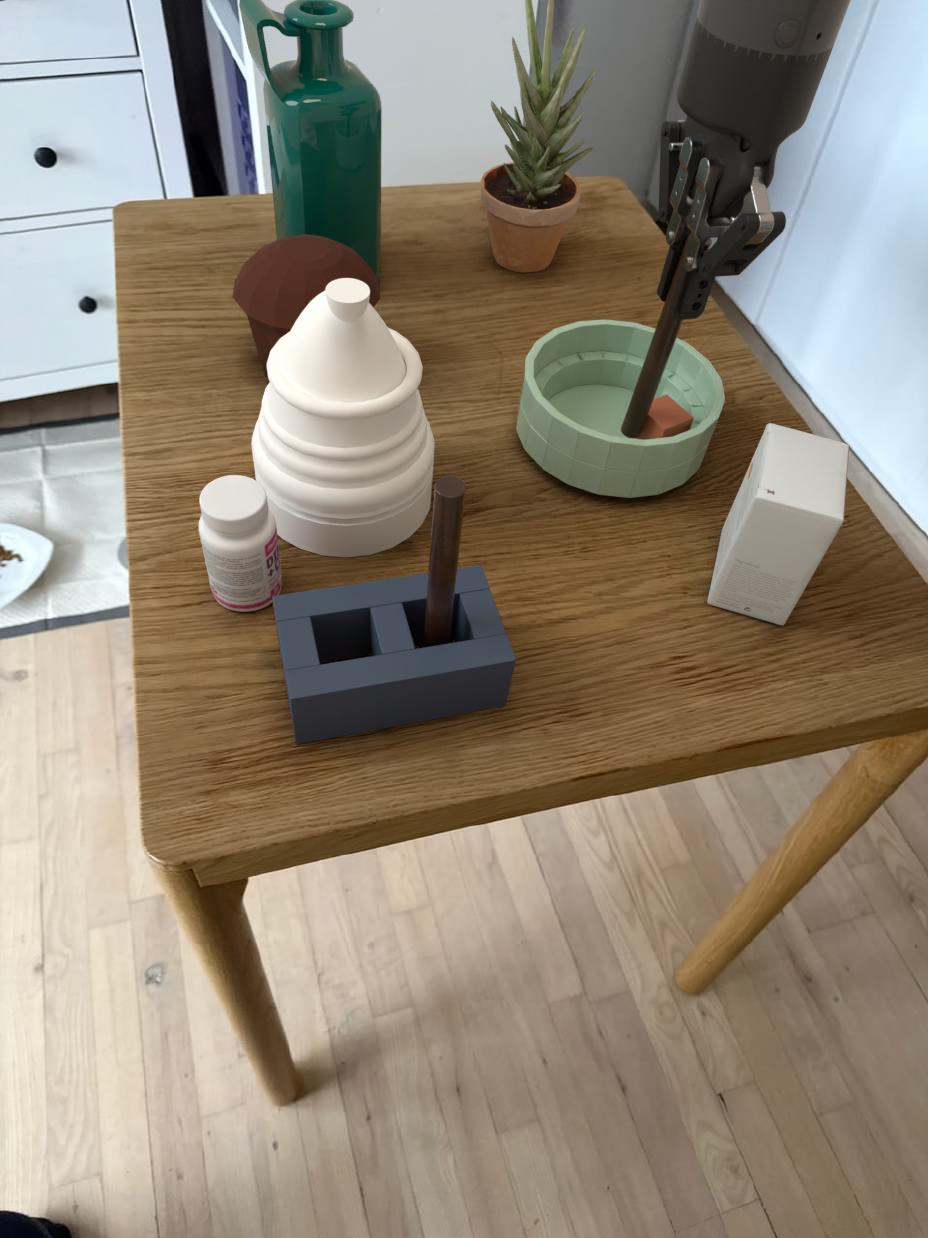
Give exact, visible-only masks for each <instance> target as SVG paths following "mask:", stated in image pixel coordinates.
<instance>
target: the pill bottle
mask: <svg viewBox="0 0 928 1238" xmlns="http://www.w3.org/2000/svg"><path fill="white" fill-rule="evenodd" d="M198 501H199V502H198V503H199V509H200V512H201V515H200V517H199V521H198V535H199V539H200V543H201V548H202V552H203V557H204V562H205V566H206V571H207V575H208V580H209V588H210V591H211V593H212V594H211V595H212V596H213V598H214V599H215V601H216V602H217V603H218V604H220V605H221V606H222V607H224V608H226V609H228V610H230V611H234V612H240V613H241V612H244V613H245V612H255V611H259V610H262V609H264V608H266V607H268V606H269V605H271V604H273V598H272V597H273V596H275V595H280V593H281V590H282V587H283V574H282V565H281V556H280V548H279V539H278V534H277V528H276V521H275V518H274V515H273V513H272V511H271V510H270V509H269V508H268V502H267V496H266V492H265V489H264V488H263V486H262V485H261V484H260V483H259V482H257V481H256V479H254V478H252V477H249V476H246V475H243V474H242V475H241V474H229V475H224V476H220V477H217V478H215V479H213V480H211V481H210V482H208V483H207V484H206V485H205V486H204V487H203V488H202V491H201V492H200V493H199V498H198Z"/></svg>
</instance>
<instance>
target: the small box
mask: <svg viewBox="0 0 928 1238" xmlns="http://www.w3.org/2000/svg"><path fill="white" fill-rule="evenodd" d="M850 447H851V446H850V444H849V443H845V442H842V441H839V440H835V439H831V438H828V437H824V436H820V435H817V434H814V433H809V432H805V431H801V430H798V429H795V428H791V427H788V426H783V425H779V424H776V423H773V422H772V423H771V422H769V423H767V424H766V425H765V428H764V431H763V432H762V435H761V437H760V439H759V442H758V444H757V447H756V450H755V451H754V453H753V456H752V459H751V461H750V463H749V465H748V468H747V470H746V472H745V475H744V478H743V480H742V481H741V485H740V486H739V489H738V491H737V494H736V496H735V498H734V500H733V503H732V505H731V507H730V510H729V512H728V515H727V516H726V520H725V521H724V524H723V526H722V529H721V533H720V538H719V542H718V547H717V551H716V552H717V553H716V557H715V562H714V567H713V572H712V578H711V583H710V587H709V592H708V595H707V597H708V598H707V600H706V601H707V602H706V603H707V605H709V606H713V607H717V608H720V609H724V610H727V611H731V612H734V613H737V614H741V615H744V616H748V617H751V618H755V619H758V620H762V621H765V622H768V623H772V624H775V625H778V626H785V624H786V623H787V621H788V619H789V617H790V616H791V614H792V612H793V611H794V609H795V607H796V605H797V604H798V602H799V600H800V599H801V597H802V595H803V594H804V591H805V590H806V588H807V586H808V584H809V583H810V581H811V579H812V578H813V576H814V574H815V573H816V571H817V570H818V569H817V568H818V567H819V565H820V564H821V562H822V560H823V558H824V557H825V555H826V553H827V551H828V549H829V547H830V546H831V544H832V542H833V540H834V539H835V537H836V536H837V534H838V532H839V530H840V529H841V527H842V525H843V523H844V522H845V513H846V512H845V511H846V499H847V498H846V497H847V483H848V481H847V480H848V471H849V459H850V458H849V457H850Z"/></svg>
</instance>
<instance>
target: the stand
mask: <svg viewBox="0 0 928 1238" xmlns="http://www.w3.org/2000/svg"><path fill="white" fill-rule="evenodd" d="M427 584H428V572H425V573H419V574H413V575H405V576H399V577H398V576H397V577H391V578H385V579H377V580H371V581H363V582H358V583H351V584H344V585H337V586H332V587H324V588H318V589H311V590H303V591H297V592H290V593H282V594H279V595H275V596H273V597H272V598H273V602H272V606H273V612H274V619H275V625H276V633H277V634H276V635H277V641H278V647H279V653H280V659H281V664H282V670H283V677H284V683H285V688H286V693H287V694H286V695H287V699H288V706H289V713H290V718H291V723H292V729H293V736H294V742H295V744H296V745H301V744H306V743H307V744H308V743H311V742H317V741H322V740H329V739H333V738H339V737H345V736H349V735H354V734H355V735H356V734H359V733H366V732H371V731H377V730H382V729H388V728H393V727H398V726H399V727H400V726H405V725H409V724H410V725H411V724H415V723H419V722H420V723H421V722H426V721H431V720H436V719H442V718H447V717H453V716H459V715H464V714H469V713H474V712H480V711H485V710H491V709H496V708H501V707H506V706H507V703H508V698H509V694H510V689H511V684H512V680H513V676H514V675H513V674H514V670H515V667H516V662H517V658H516V656H515V653H514V651H513V648H512V645H511V643H510V640H509V637H508V635H507V632H506V630H505V626H504V624H503V621H502V618H501V616H500V613H499V610H498V607H497V604H496V602H495V599H494V596H493V593H492V590H491V589H490V585H489V582H488V579H487V577H486V573H485V570H484V568H483V566H482V565H473V566H467V567H461V568H460V567H459V568H457V575H456V584H455V593H454V602H453V611H452V620H451V629H450V637H449V644H443V645H437V646H431V647H425V648H423V637H424V624H425V611H426V597H427ZM353 658H354V659H353ZM347 659H348V660H347ZM340 660H341V661H340ZM334 661H335V662H334ZM327 662H329V663H327ZM321 663H322V664H321Z"/></svg>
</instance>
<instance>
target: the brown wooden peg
mask: <svg viewBox="0 0 928 1238" xmlns="http://www.w3.org/2000/svg"><path fill="white" fill-rule="evenodd" d="M466 494H467V484H466V483H465V481H464V480H463V479H461V478H460V477H457V476H453V475H445V476H442V477H440V478H439V479H437V480H436V481H435V483H434V491H433V507H432V518H431V519H432V520H431V530H430V531H431V534H430V546H429V559H428V571H427V573H428V584H427V597H426V611H425V624H424V637H423V646H422V648H425V647H431V646H437V645H443V644H449V643H450V642H449V637H450V629H451V620H452V611H453V602H454V593H455V584H456V575H457V569H458V565H459V557H460V548H461V539H462V532H463V531H462V530H463V522H464V512H465V504H466Z"/></svg>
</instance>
